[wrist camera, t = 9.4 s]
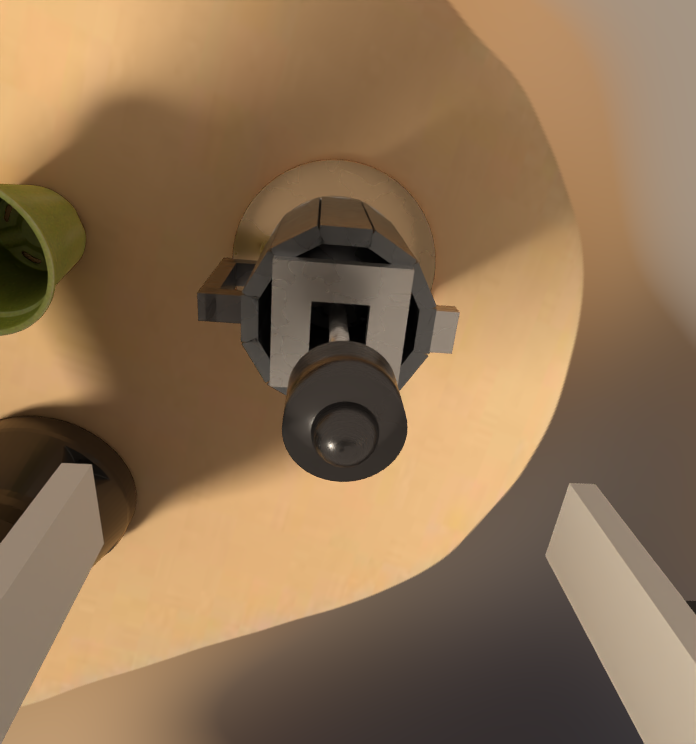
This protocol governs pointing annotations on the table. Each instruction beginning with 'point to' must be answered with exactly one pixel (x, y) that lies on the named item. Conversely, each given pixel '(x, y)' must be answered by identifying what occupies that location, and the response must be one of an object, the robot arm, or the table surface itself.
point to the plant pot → (34, 252)
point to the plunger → (343, 394)
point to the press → (330, 270)
